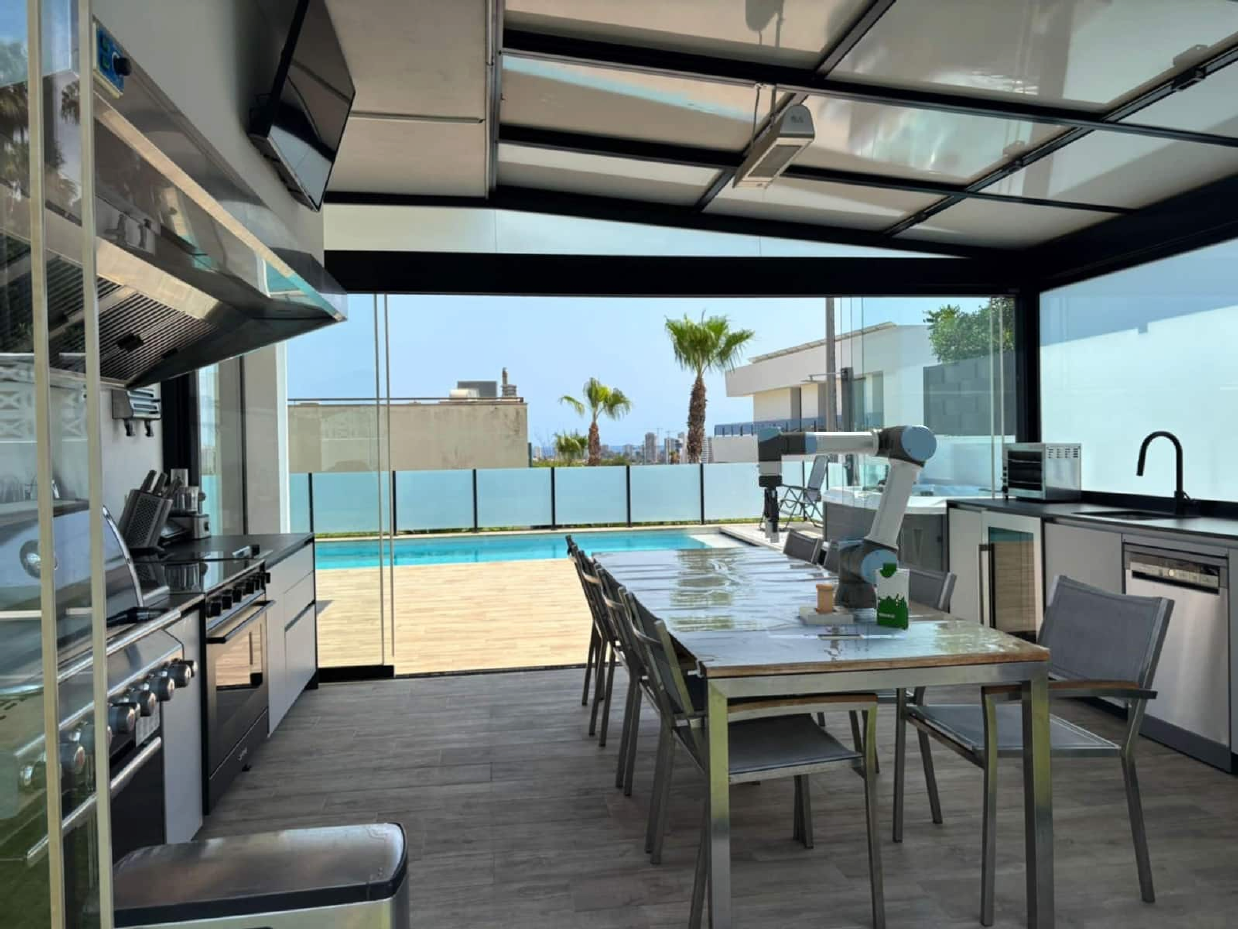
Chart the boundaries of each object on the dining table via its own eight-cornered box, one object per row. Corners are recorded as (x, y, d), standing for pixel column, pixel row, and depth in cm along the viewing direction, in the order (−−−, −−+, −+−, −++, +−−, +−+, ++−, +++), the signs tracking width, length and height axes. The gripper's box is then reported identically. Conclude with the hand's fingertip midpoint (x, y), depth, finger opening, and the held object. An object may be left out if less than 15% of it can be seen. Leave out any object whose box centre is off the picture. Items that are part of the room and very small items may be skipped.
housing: (842, 618, 270) (842, 606, 270) (853, 627, 256) (853, 614, 256) (799, 618, 271) (799, 606, 271) (807, 627, 257) (807, 615, 257)
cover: (833, 617, 266) (832, 583, 266) (837, 621, 260) (837, 586, 260) (814, 617, 266) (813, 583, 266) (818, 621, 260) (817, 586, 260)
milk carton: (872, 628, 256) (872, 563, 255) (885, 623, 262) (885, 559, 262) (900, 632, 250) (900, 565, 249) (913, 627, 256) (912, 562, 256)
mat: (853, 630, 252) (853, 629, 252) (863, 640, 240) (863, 638, 240) (813, 630, 253) (813, 629, 253) (821, 640, 241) (821, 638, 241)
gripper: (754, 473, 282) (756, 536, 282) (762, 476, 257) (764, 545, 257) (777, 472, 281) (778, 535, 282) (787, 475, 256) (789, 544, 257)
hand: (772, 540), depth 270 cm, fingers open, 13 cm apart
